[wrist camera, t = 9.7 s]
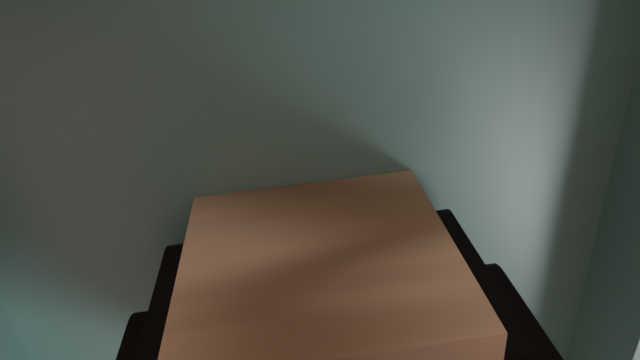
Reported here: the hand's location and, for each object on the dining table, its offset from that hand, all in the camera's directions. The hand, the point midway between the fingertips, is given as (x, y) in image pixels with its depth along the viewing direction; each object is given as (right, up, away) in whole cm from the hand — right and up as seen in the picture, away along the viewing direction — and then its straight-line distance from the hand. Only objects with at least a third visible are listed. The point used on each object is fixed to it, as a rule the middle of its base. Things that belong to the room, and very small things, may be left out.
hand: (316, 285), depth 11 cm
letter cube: (0, 0, 0) cm, 1 cm away
